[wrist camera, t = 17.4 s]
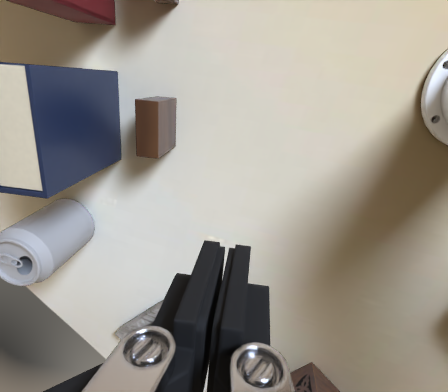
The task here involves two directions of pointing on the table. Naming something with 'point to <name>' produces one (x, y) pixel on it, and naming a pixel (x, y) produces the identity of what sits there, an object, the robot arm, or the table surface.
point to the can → (44, 241)
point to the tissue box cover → (311, 380)
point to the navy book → (55, 126)
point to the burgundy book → (75, 9)
